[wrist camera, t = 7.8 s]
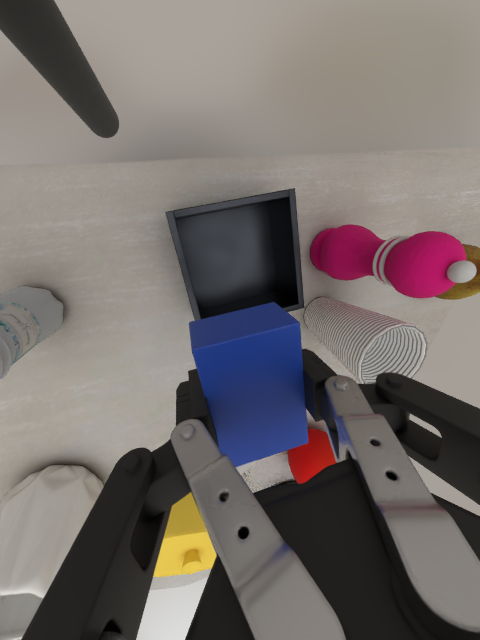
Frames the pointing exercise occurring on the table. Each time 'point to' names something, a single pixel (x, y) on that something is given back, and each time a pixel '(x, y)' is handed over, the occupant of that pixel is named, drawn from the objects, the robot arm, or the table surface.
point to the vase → (39, 538)
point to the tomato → (311, 456)
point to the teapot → (185, 542)
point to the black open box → (239, 253)
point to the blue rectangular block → (252, 380)
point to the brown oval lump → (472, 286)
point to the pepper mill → (393, 259)
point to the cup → (366, 339)
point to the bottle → (26, 322)
